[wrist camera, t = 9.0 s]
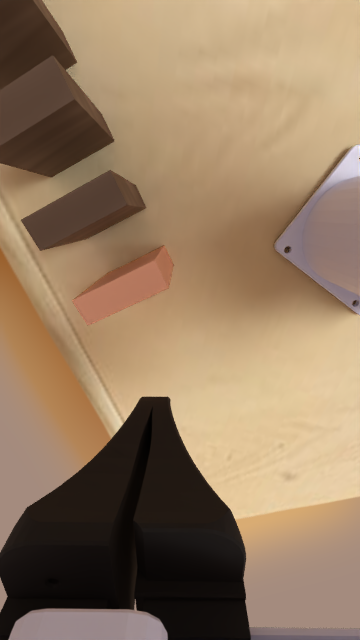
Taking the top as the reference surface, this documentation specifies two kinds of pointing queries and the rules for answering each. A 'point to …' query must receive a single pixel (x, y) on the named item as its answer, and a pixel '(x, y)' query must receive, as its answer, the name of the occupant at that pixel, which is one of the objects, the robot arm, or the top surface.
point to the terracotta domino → (126, 286)
